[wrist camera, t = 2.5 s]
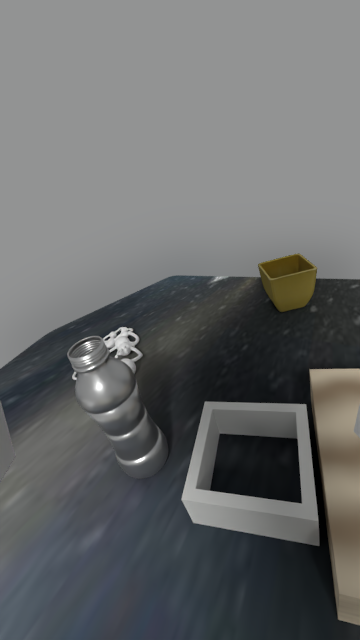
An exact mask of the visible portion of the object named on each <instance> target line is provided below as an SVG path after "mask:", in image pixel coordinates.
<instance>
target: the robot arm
mask: <svg viewBox="0 0 360 640" xmlns="http://www.w3.org/2000/svg"><path fill="white" fill-rule="evenodd" d="M354 432H355V433H356V435H357V436H358V437H359V438H360V404H359V409H358V413H357V418H356V423H355V427H354ZM15 457H16V456H15V452H14V448H13V445H12V441H11V438H10V434H9V431H8V427H7V423H6V420H5V416H4V413H3V409H2V405H1V402H0V482H1V480H2V478H3V477H4V475H5V473H6V472H7V470H8V468H9V467H10V465H11V463H12V462H13V460H14V458H15Z"/></svg>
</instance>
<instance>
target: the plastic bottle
mask: <svg viewBox="0 0 360 640" xmlns="http://www.w3.org/2000/svg"><path fill="white" fill-rule="evenodd" d="M67 356H68V358H69V360H70V362H71V363H72V367H73V369H74V371H75V372H76V373H78V376H77V379H76V385H75V395H76V400H77V402H78V404H79V405H80V406H81V408H82V409H83V410H84V411H85V412H86V413H87V414H88V415H89V416H90V417H91V418H92V419H93V420H94V421H95V422H96V423H97V424H98V425H99V427H100V428H101V429H102V431H103V432H104V433H105V435H106V436H107V437H108V439H109V441H110V443H111V445H112V447H113V449H114V451H115V455H116V458H117V461H118V463H119V466H120V467H121V469H122V470H123V471H124V472H125V473H126V474H128V475H129V476H130V477H132V478H136V479H143V478H148V477H151V476H153V475H155V474H156V473H157V472H159V471H160V469H161V468H162V467H163V465H164V464H165V462H166V460H167V457H168V451H169V449H168V444H167V439H166V437H165V435H164V434H163V432H162V431H161V430H160V428H159V427H158V426H157V425H156V424H155V423H154V421H153V420H152V418H151V417H150V415H149V414H148V412H147V410H146V408H145V405H144V403H143V401H142V398H141V395H140V392H139V388H138V385H137V381H136V378H135V375H134V373H133V370H132V369H131V368H130V367H129V366H128V365H127V364H126V363H125V362H123V361H121V360H119V359H117V358H114V357H111V356H110V351H109V349H108V348H107V347H106V345H105V343H104V341H103V339H102V338H101V337H99V336H91V337H87V338H84V339H82V340H80V341H79V342H77V343H75V344H74V345H73V346H72V347H71V348H70V349H69V351H68V353H67Z"/></svg>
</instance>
